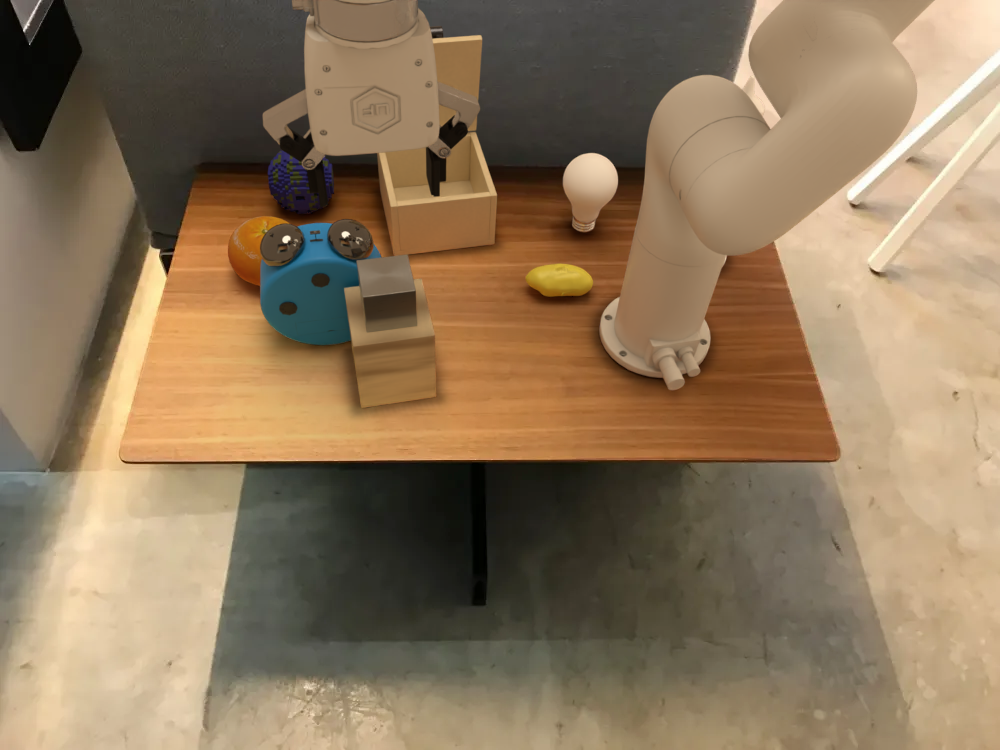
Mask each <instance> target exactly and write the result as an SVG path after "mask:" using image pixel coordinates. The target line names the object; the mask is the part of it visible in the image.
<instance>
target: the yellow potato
mask: <svg viewBox="0 0 1000 750" xmlns="http://www.w3.org/2000/svg"><path fill="white" fill-rule="evenodd" d="M524 279H525V282H526V284H527V285H528V286H529V287H530V288H531V289H533V290H536V291H537V292H539V293H540V294H541V295H543V296H544V297H547V298H548V297H550V298H552V297H572V296H573V297H579V296H583V295H586V294H587V293H588V292H590V291H591V289H592V287H593V286H594V280H593V278H592V275H591V274H589V272H588V271H586V270H585V268H582V267H580V266H577V265H575V264H570V263H550V264H544V265H540V266H536V267H534V268H532V269H531V270H530V271H529V272H527V274H526V275H525V277H524Z"/></svg>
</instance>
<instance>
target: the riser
mask: <svg viewBox="0 0 1000 750" xmlns="http://www.w3.org/2000/svg"><path fill="white" fill-rule="evenodd" d="M413 280H414V284H415V288H416V304H417V326H412V327H405V328H397V329H390V330H383V331H375V332H368V333H367V332H366V326H365V320H364V314H363V308H362V302H361V297H360V288H359V286H356V287H348V288H344V292H345V300H346V307H347V315H348V322H349V329H350V337H351V341H350V343H351V344H350V345H351V352H352V357H353V363H354V371H355V377H356V384H357V389H358V396H359V402H360V408H361V409H364V408H365V409H366V408H372V407H377V406H384V405H392V404H398V403H399V404H400V403H407V402H412V401H418V400H425V399H431V398H432V399H433V398H437V367H436V365H437V362H436V361H437V360H436V359H437V358H436V333H435V328H434V325H433V320H432V317H431V312H430V308H429V304H428V299H427V295H426V291H425V287H424V283H423V282H424V281H423V278H422V277H421V278H413Z"/></svg>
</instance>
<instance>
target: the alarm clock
mask: <svg viewBox="0 0 1000 750" xmlns="http://www.w3.org/2000/svg"><path fill="white" fill-rule="evenodd" d="M260 255H261V257H262V260H261V266H260V286H259V294H260V295H259V296H260V297H259V299H260V300H259V303H260V309H261V312H262V315H263V317H264V319H265V320H266V322H267V324H269V325H270V326H271V328H273V329H274V330H275V332H277V333H279V334H280V335H282V336H284V337H285V338H288V339H290V340H293V341H295V342H299V343H302V344H307V345H314V346H332V345H339V344H344V343H348V342H351V337H350V329H349V322H348V315H347V307H346V300H345V292H344V288H348V287H356V286H359V279H358V271H357V262H356V261H357V260H365V259H373V258H382V257H383V256H382V255H381V253H380V251H379V249H378V248H377V246H376V245H375V241H374V237H373V235H372V232H371V231H370V230H369V228H367V226H365V224H363V223H361V222H360V221H358V220H356V219H352V218H342V219H338V220H336V221H334V222H333V223H332V222H331V223H330V222H313V223H307V224H306V223H305V224H301V225H298V226H297V225H295V224H293V223H290V224H287V223H284V224H279V225H276V226H274V227H272V228H271V229H269V230H268V231H267V232H266V233H265V235H264V236H263V238H262V240H261V243H260Z"/></svg>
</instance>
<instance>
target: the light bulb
mask: <svg viewBox="0 0 1000 750" xmlns="http://www.w3.org/2000/svg"><path fill="white" fill-rule="evenodd" d="M614 165H615V164H613V162H612V161H611V160H610V159H608V158H607V157H606V156H604V155H602V154H600V153H595V152H588V153H583V154H580V155H578V156H577V157H575V158H573V159H572V160H571V161H570V162H569V164H568V165H567V166H566V168H565V169H564V172H563V176H562V187H563V192H564V194H565V196H566V197H567V199H568V201H569V202H570V205H571V213H572V219H571V227H572V229H574V230H575V231H577V232H579V233H590V232H591V231H593V230H594V229H595V227H596V222H597V218H598V217H599V214H600V212H601V210H602V209H603V208H604V207H605V206H606V205H607V204H608V203H609V202H610V201H611V200H612V199H613V198H614V196H615V194H616V192H617V189H618V186H619V175H618V171H617V169H616V167H615V166H614Z"/></svg>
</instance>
